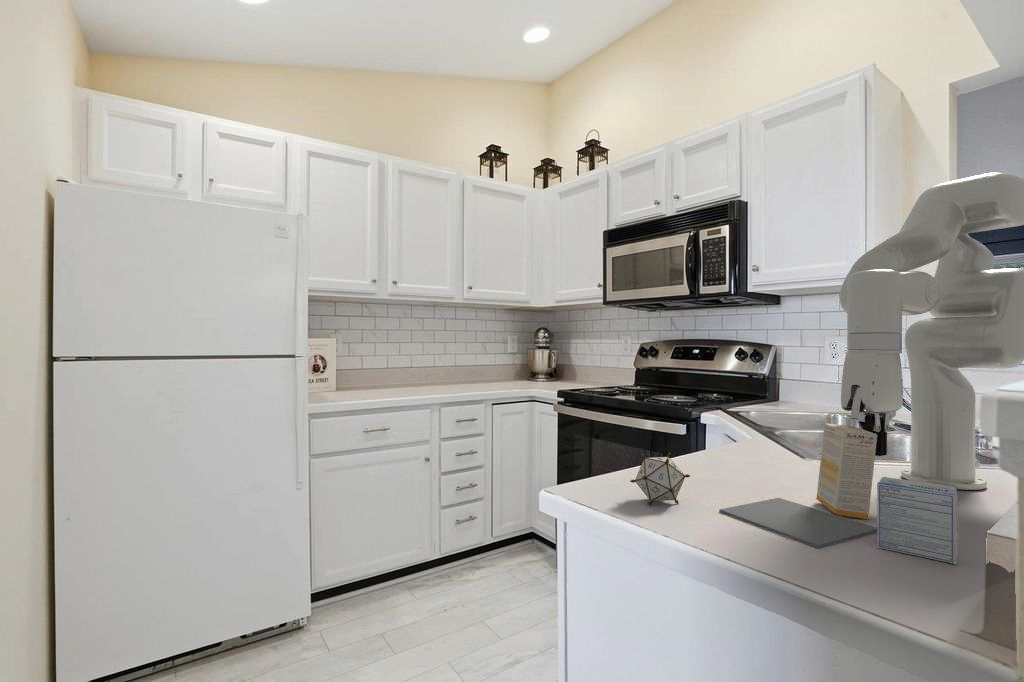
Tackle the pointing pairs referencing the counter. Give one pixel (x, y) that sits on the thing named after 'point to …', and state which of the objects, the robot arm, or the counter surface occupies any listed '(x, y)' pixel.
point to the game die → (659, 478)
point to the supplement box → (846, 470)
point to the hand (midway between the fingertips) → (873, 454)
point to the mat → (800, 522)
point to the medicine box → (917, 518)
